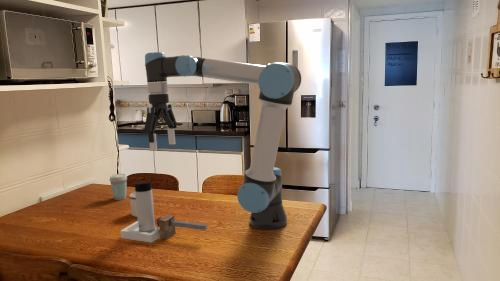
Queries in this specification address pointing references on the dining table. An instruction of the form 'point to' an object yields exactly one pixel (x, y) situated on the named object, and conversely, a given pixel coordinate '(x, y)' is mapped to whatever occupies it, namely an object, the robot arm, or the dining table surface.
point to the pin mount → (166, 227)
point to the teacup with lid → (133, 204)
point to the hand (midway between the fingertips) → (163, 147)
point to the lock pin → (182, 224)
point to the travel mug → (145, 207)
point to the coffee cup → (119, 186)
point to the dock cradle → (139, 233)
